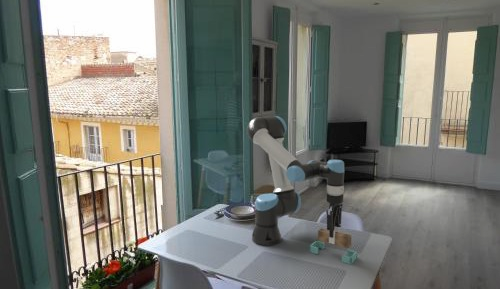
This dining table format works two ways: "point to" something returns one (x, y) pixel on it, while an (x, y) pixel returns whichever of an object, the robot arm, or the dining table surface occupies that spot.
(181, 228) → the dining table surface
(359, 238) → the dining table surface
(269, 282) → the dining table surface
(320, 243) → the pair of teal brackets
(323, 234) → the batten
